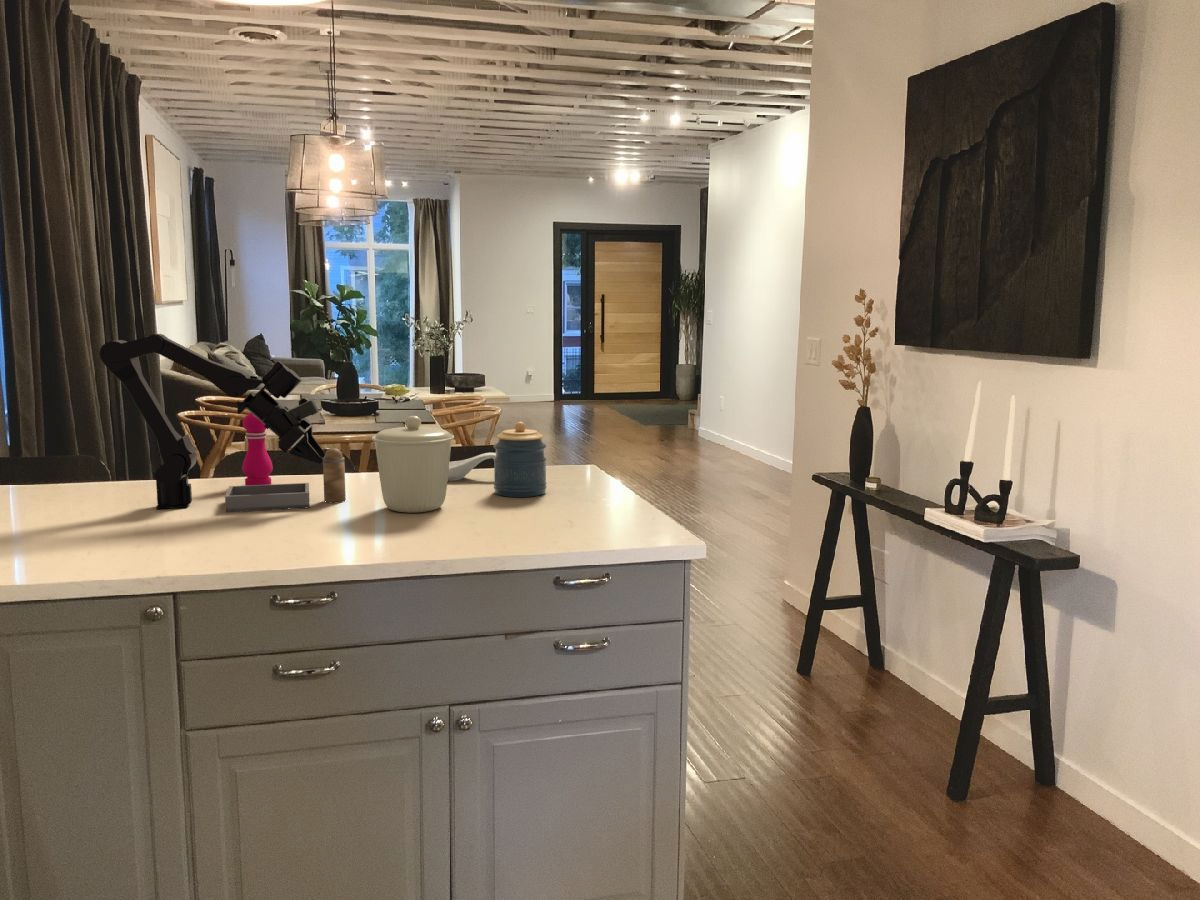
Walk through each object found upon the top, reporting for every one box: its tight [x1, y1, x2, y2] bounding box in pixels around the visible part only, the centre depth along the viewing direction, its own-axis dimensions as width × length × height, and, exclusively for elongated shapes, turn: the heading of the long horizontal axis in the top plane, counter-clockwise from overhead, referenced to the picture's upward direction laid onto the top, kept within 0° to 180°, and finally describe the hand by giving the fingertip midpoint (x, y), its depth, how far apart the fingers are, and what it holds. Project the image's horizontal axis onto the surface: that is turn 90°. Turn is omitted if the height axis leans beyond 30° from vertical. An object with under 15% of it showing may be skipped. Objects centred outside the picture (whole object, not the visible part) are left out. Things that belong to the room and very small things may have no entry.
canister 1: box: [371, 415, 455, 514], centre depth 211 cm, size 18×18×21 cm
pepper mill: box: [241, 412, 274, 486], centre depth 236 cm, size 7×7×20 cm
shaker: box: [322, 447, 347, 503], centre depth 219 cm, size 5×5×12 cm
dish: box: [224, 482, 310, 513], centre depth 215 cm, size 18×13×4 cm
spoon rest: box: [447, 452, 496, 482], centre depth 249 cm, size 24×12×7 cm, turn 90°
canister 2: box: [493, 421, 548, 498], centre depth 230 cm, size 13×13×18 cm
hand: (323, 459), depth 218 cm, fingers open, 9 cm apart
